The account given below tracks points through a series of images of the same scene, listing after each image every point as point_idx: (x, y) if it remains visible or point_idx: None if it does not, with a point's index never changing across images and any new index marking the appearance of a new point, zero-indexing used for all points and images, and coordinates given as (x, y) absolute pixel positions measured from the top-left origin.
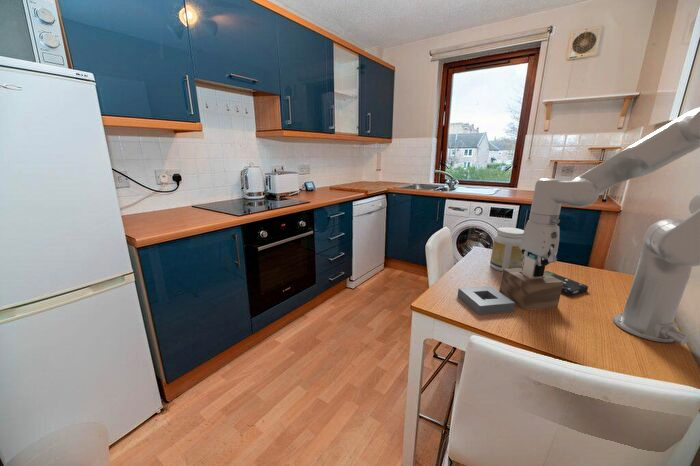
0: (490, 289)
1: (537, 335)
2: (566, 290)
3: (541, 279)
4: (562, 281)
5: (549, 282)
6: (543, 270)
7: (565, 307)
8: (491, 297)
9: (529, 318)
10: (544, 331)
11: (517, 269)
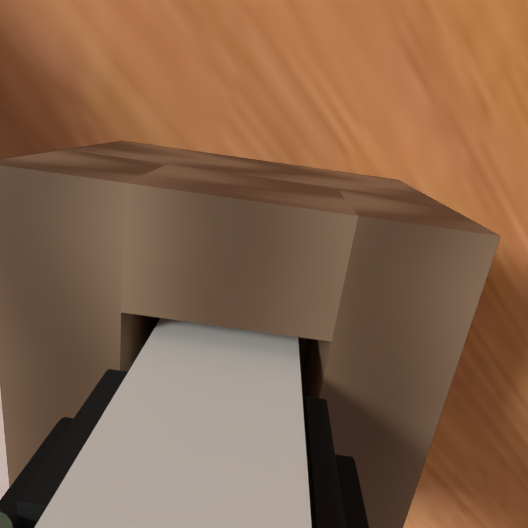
0: None
1: (524, 524)
2: None
3: (345, 421)
4: (489, 244)
5: (433, 410)
6: (362, 517)
7: (422, 116)
8: None
9: None
10: (522, 476)
11: (42, 426)
